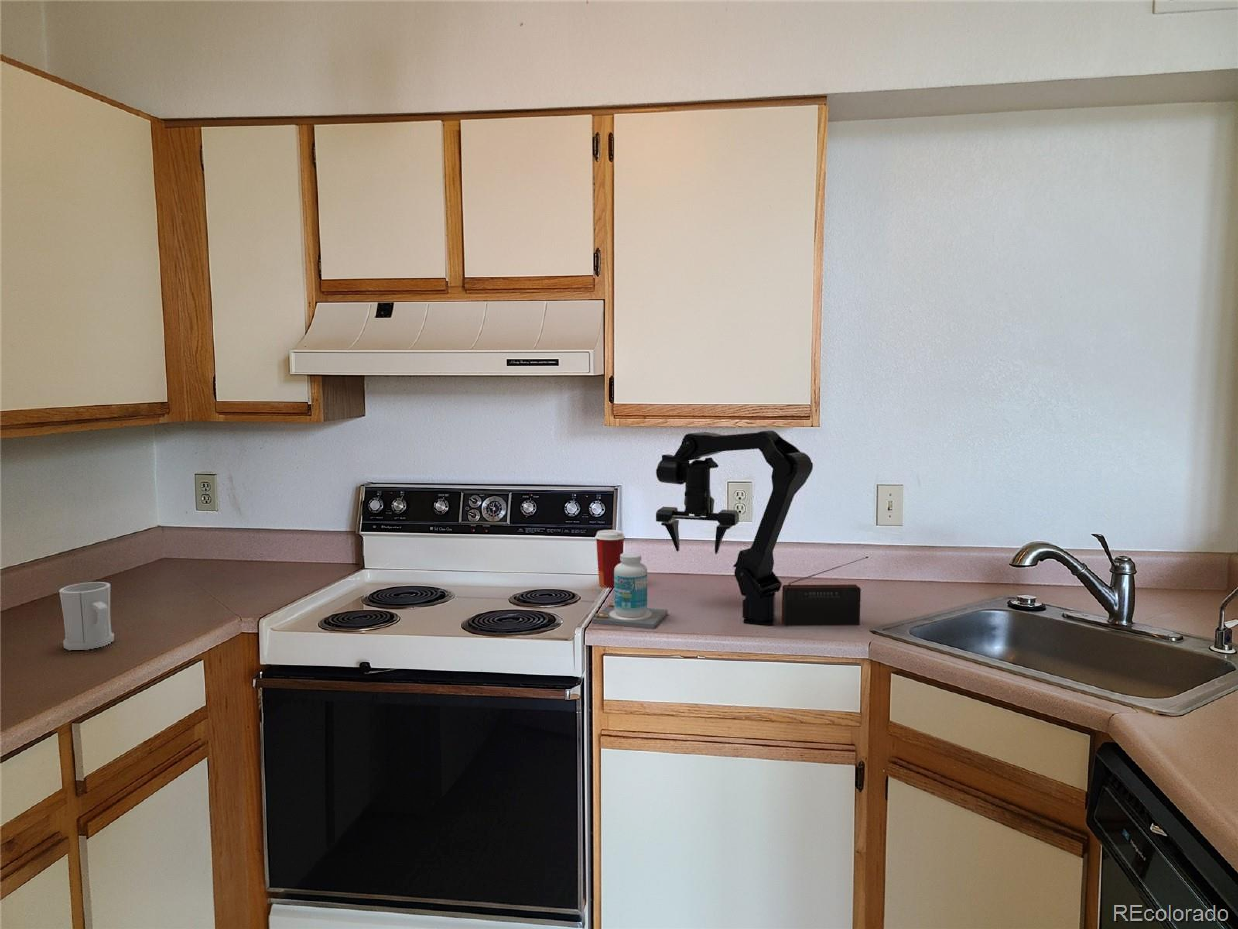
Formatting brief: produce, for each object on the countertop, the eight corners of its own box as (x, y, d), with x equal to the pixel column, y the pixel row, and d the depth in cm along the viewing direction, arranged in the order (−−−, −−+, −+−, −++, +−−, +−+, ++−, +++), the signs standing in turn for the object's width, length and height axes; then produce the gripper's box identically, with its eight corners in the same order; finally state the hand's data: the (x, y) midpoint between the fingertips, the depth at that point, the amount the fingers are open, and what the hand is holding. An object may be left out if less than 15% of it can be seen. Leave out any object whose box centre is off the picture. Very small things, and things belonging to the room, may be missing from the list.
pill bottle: (607, 613, 193) (606, 554, 191) (632, 607, 198) (631, 549, 196) (629, 620, 187) (628, 559, 186) (654, 614, 192) (654, 554, 190)
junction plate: (667, 613, 196) (667, 606, 196) (653, 628, 185) (653, 620, 185) (609, 608, 200) (609, 601, 200) (592, 623, 189) (592, 615, 189)
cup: (131, 637, 179) (127, 581, 178) (106, 651, 170) (102, 592, 169) (80, 638, 179) (76, 581, 178) (52, 652, 170) (48, 593, 169)
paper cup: (630, 584, 223) (630, 531, 222) (613, 590, 217) (613, 536, 216) (605, 580, 228) (605, 528, 226) (588, 586, 221) (588, 532, 220)
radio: (784, 626, 187) (786, 559, 185) (781, 622, 190) (783, 556, 188) (869, 626, 187) (871, 558, 185) (865, 622, 190) (867, 555, 188)
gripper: (743, 483, 204) (742, 548, 206) (667, 480, 210) (667, 543, 211) (735, 489, 193) (734, 557, 195) (655, 486, 199) (655, 552, 201)
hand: (697, 552), depth 201 cm, fingers open, 9 cm apart
